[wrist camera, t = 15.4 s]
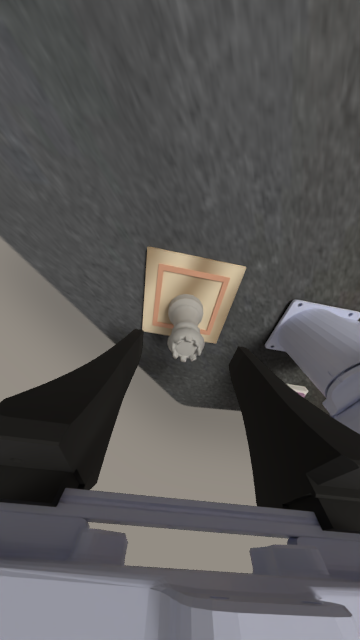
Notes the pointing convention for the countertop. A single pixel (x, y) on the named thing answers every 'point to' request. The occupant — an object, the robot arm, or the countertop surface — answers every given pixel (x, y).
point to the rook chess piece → (185, 327)
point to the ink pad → (299, 389)
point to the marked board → (188, 289)
